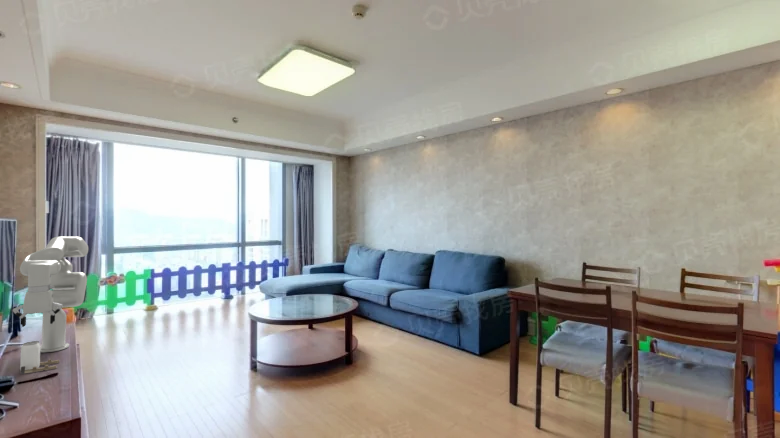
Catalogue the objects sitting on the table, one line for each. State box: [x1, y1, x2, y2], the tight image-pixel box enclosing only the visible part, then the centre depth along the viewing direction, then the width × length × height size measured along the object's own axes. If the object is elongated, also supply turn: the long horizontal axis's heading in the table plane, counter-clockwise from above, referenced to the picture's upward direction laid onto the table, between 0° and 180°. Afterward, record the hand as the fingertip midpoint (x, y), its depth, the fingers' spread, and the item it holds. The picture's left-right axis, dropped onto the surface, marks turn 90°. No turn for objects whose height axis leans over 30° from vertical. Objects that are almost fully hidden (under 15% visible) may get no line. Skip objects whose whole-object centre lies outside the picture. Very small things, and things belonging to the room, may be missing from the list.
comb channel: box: [20, 358, 60, 375], centre depth 172 cm, size 9×12×3 cm
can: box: [19, 340, 41, 371], centre depth 170 cm, size 6×6×12 cm
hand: (38, 324), depth 173 cm, fingers open, 9 cm apart
